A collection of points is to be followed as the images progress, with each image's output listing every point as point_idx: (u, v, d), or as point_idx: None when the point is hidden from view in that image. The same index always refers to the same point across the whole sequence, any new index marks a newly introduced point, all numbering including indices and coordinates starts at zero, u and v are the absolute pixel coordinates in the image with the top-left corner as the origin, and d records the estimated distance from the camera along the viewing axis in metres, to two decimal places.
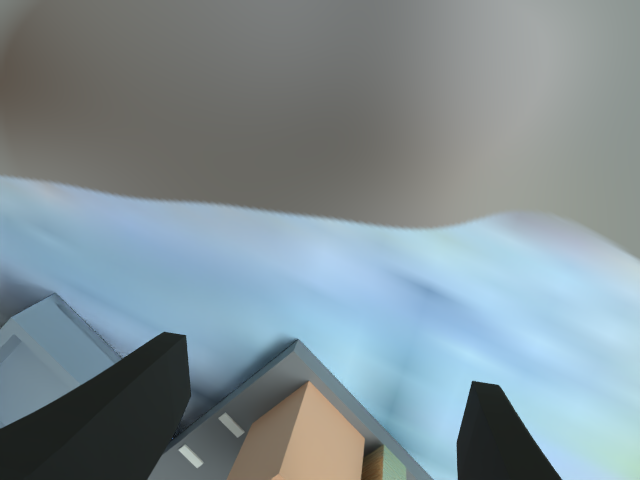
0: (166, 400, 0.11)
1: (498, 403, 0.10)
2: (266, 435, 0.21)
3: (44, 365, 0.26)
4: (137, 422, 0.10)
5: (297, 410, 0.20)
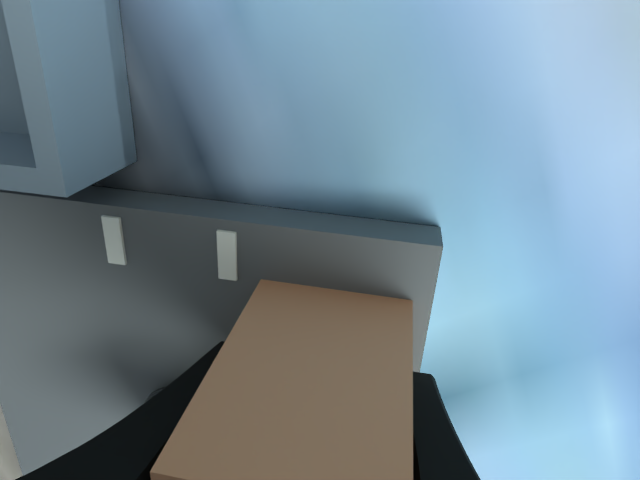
0: None
1: (425, 391, 0.10)
2: (318, 346, 0.10)
3: None
4: None
5: (407, 355, 0.10)
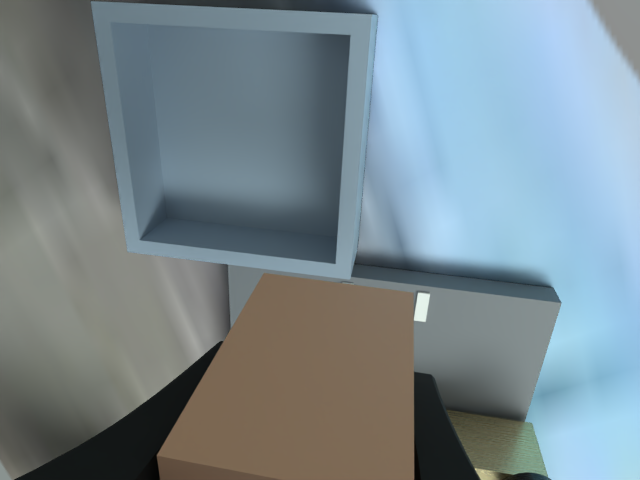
0: None
1: (425, 391, 0.10)
2: (321, 336, 0.10)
3: (280, 79, 0.18)
4: None
5: (408, 345, 0.10)
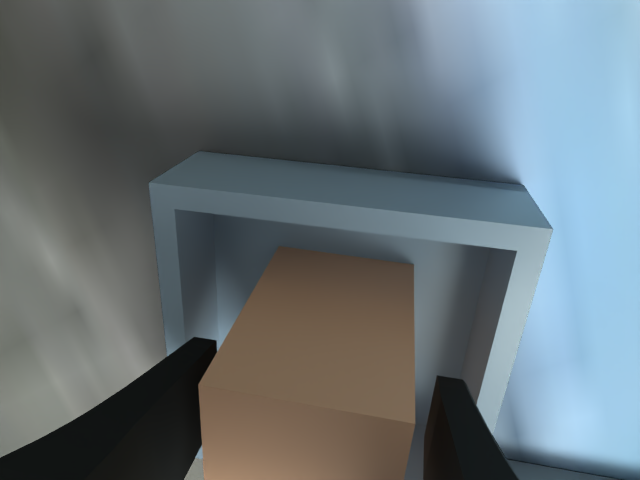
0: (198, 406, 0.11)
1: (459, 397, 0.10)
2: (332, 298, 0.12)
3: (385, 255, 0.14)
4: (172, 429, 0.10)
5: (409, 306, 0.12)
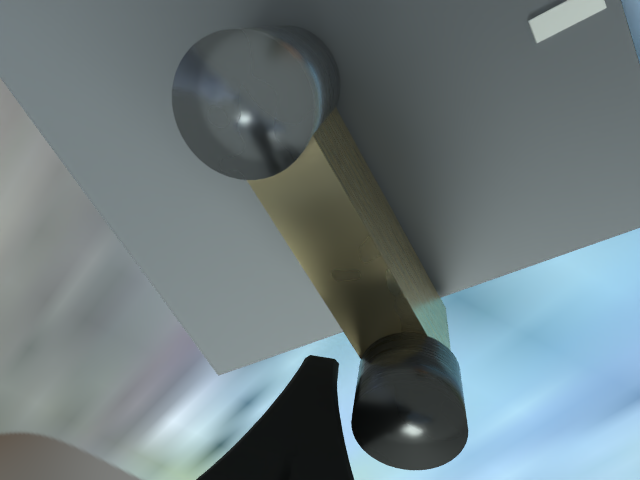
0: None
1: (321, 374, 0.11)
2: None
3: None
4: None
5: None
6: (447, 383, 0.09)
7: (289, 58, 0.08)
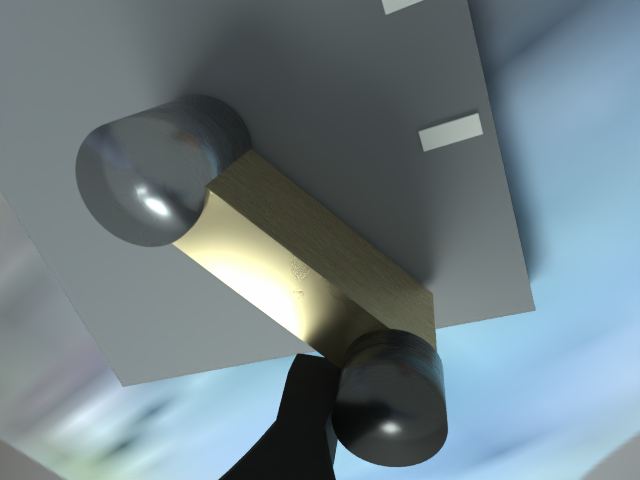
0: None
1: (307, 372, 0.11)
2: None
3: None
4: None
5: None
6: (408, 368, 0.09)
7: (151, 131, 0.09)
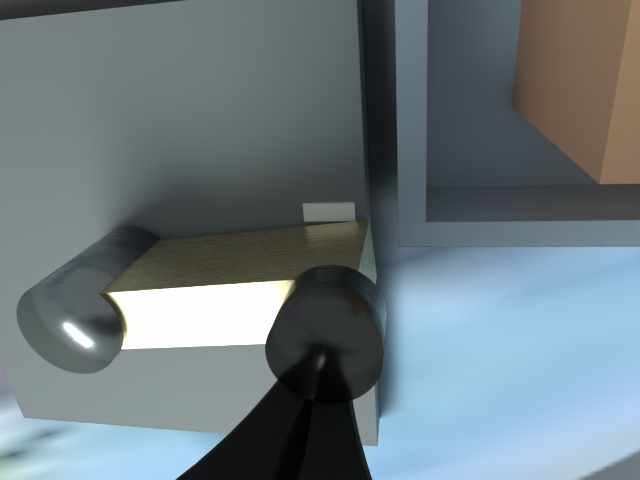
0: (310, 426, 0.11)
1: None
2: None
3: None
4: (296, 452, 0.10)
5: None
6: (295, 298, 0.09)
7: (36, 289, 0.11)
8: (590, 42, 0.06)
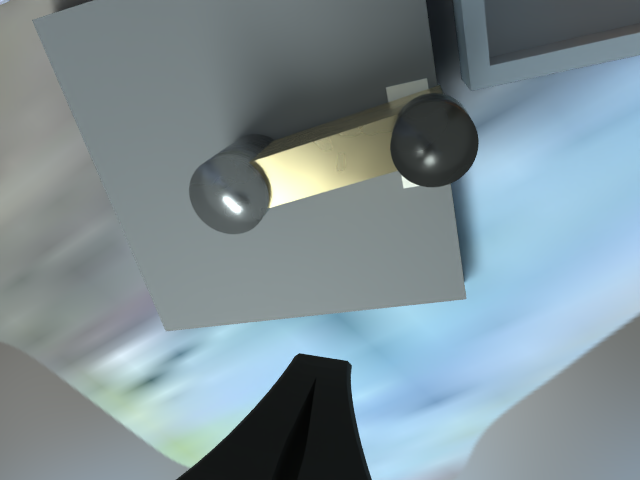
0: None
1: (335, 376, 0.10)
2: None
3: None
4: (297, 452, 0.10)
5: None
6: (407, 109, 0.12)
7: (204, 165, 0.15)
8: None
